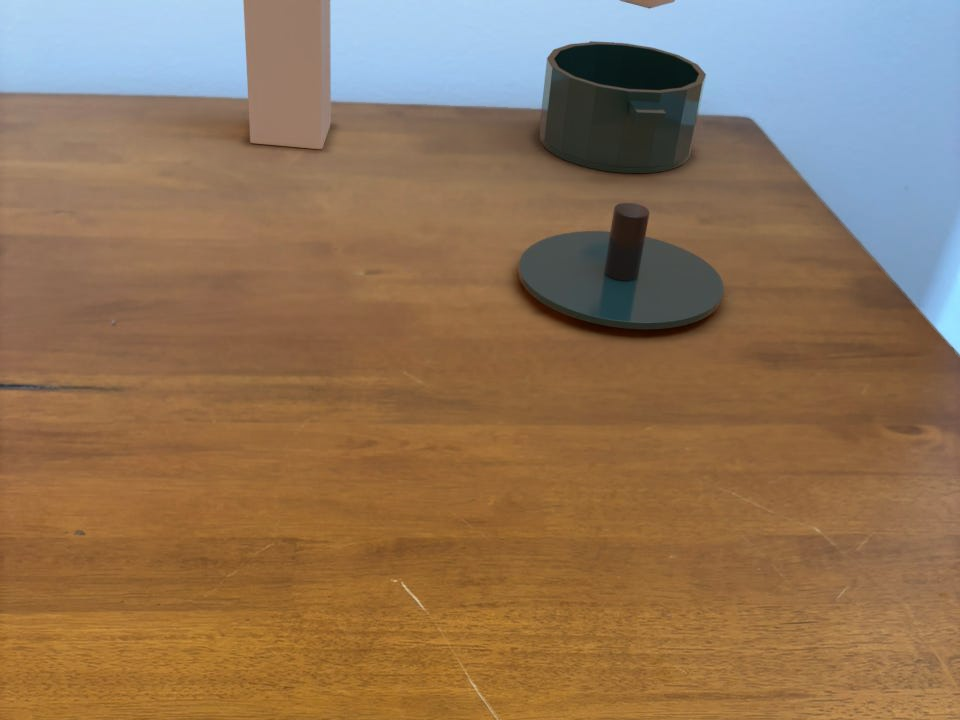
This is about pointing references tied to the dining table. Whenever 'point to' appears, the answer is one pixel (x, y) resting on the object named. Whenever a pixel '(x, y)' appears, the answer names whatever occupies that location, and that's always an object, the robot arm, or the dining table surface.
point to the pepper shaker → (648, 2)
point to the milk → (288, 71)
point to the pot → (620, 106)
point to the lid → (621, 276)
